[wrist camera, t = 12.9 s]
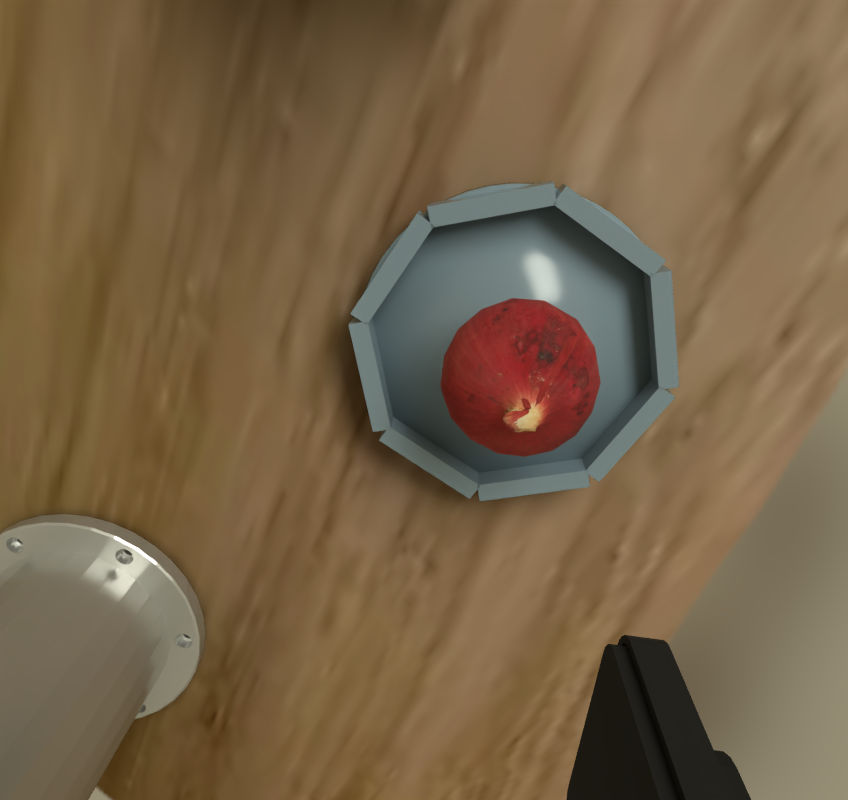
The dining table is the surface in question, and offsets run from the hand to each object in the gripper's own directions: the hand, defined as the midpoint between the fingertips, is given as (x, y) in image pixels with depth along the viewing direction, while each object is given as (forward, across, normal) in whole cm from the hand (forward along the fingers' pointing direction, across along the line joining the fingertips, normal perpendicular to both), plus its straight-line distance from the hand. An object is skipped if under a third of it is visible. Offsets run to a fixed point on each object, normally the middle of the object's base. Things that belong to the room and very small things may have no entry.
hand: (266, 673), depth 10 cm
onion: (+21, -5, +1) cm, 22 cm away
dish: (+22, -5, 0) cm, 23 cm away
